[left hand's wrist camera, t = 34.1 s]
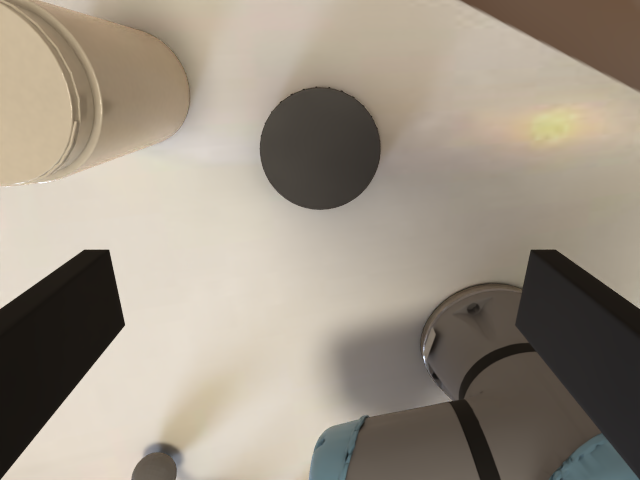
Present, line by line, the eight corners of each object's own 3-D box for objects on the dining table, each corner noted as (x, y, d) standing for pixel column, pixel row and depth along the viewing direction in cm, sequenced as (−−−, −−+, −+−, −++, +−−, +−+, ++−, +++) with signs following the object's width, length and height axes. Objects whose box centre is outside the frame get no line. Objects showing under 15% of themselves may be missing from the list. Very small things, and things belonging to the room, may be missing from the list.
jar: (69, 118, 38) (-134, 146, 21) (92, 7, 35) (-129, -68, 18) (172, 161, 40) (60, 221, 23) (204, 59, 36) (100, 38, 19)
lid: (282, 215, 42) (280, 223, 40) (246, 105, 38) (242, 107, 36) (388, 187, 41) (392, 193, 39) (362, 71, 37) (365, 70, 35)
